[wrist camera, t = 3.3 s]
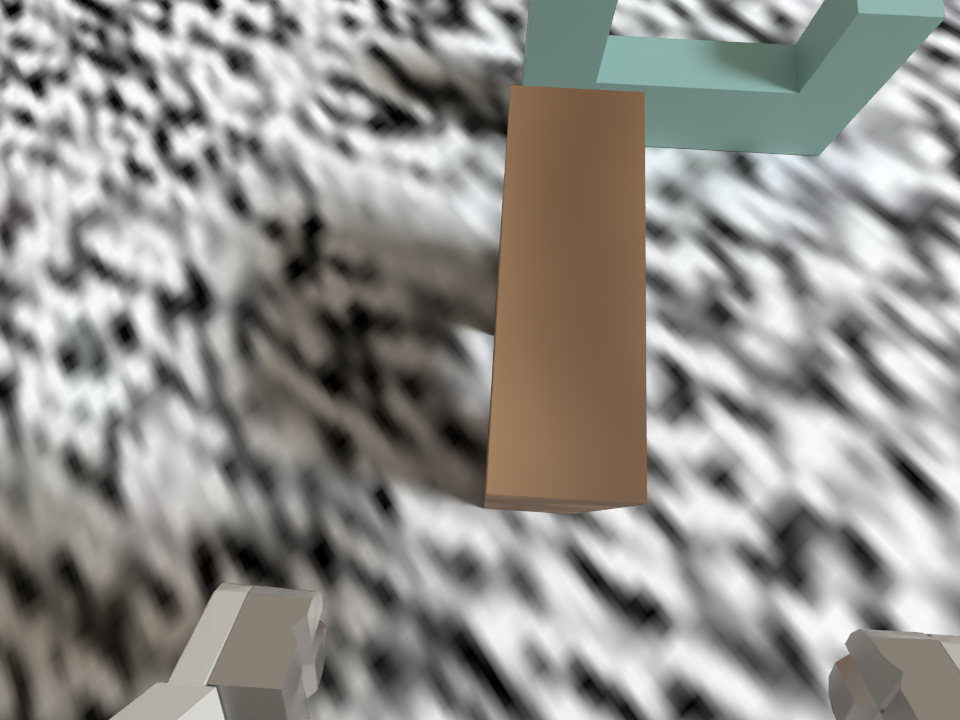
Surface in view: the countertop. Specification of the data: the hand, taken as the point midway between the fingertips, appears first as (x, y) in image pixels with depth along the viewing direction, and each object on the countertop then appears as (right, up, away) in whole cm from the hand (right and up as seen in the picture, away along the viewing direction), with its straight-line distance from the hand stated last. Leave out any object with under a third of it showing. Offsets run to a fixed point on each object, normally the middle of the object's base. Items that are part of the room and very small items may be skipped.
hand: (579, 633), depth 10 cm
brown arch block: (0, +3, +13) cm, 13 cm away
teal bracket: (+6, +14, +16) cm, 22 cm away
